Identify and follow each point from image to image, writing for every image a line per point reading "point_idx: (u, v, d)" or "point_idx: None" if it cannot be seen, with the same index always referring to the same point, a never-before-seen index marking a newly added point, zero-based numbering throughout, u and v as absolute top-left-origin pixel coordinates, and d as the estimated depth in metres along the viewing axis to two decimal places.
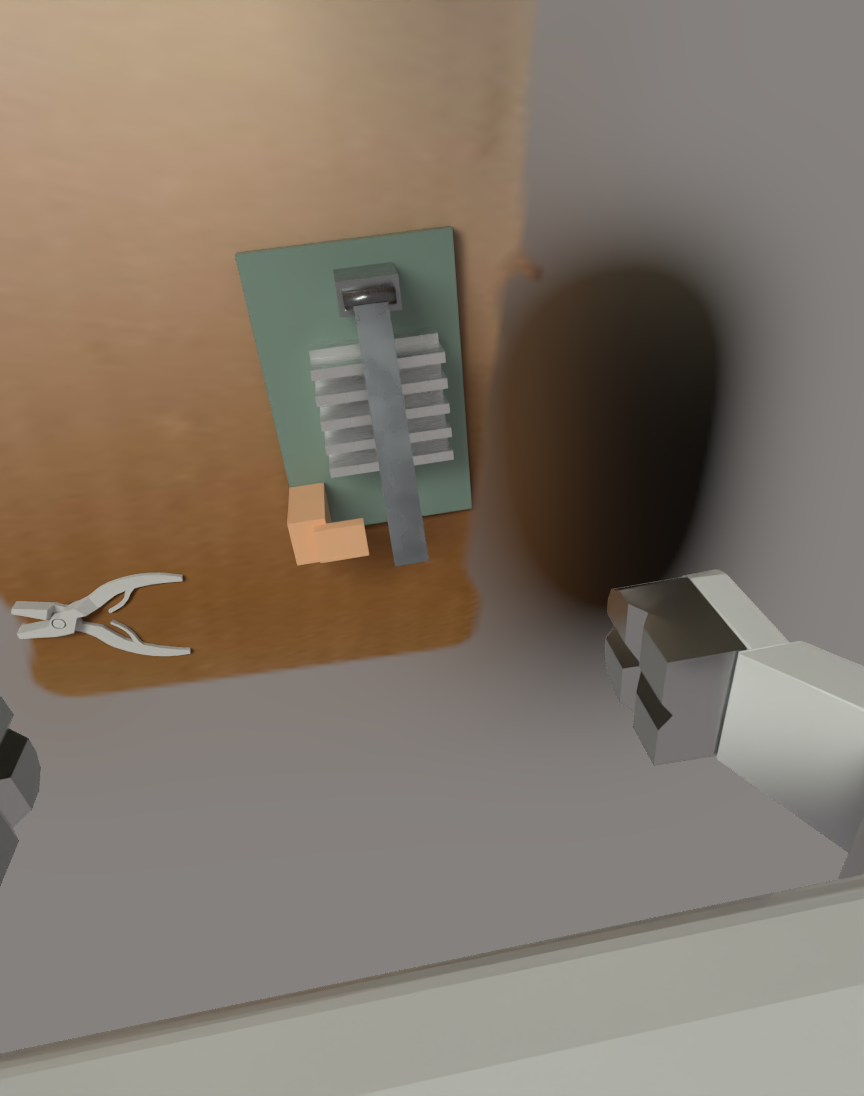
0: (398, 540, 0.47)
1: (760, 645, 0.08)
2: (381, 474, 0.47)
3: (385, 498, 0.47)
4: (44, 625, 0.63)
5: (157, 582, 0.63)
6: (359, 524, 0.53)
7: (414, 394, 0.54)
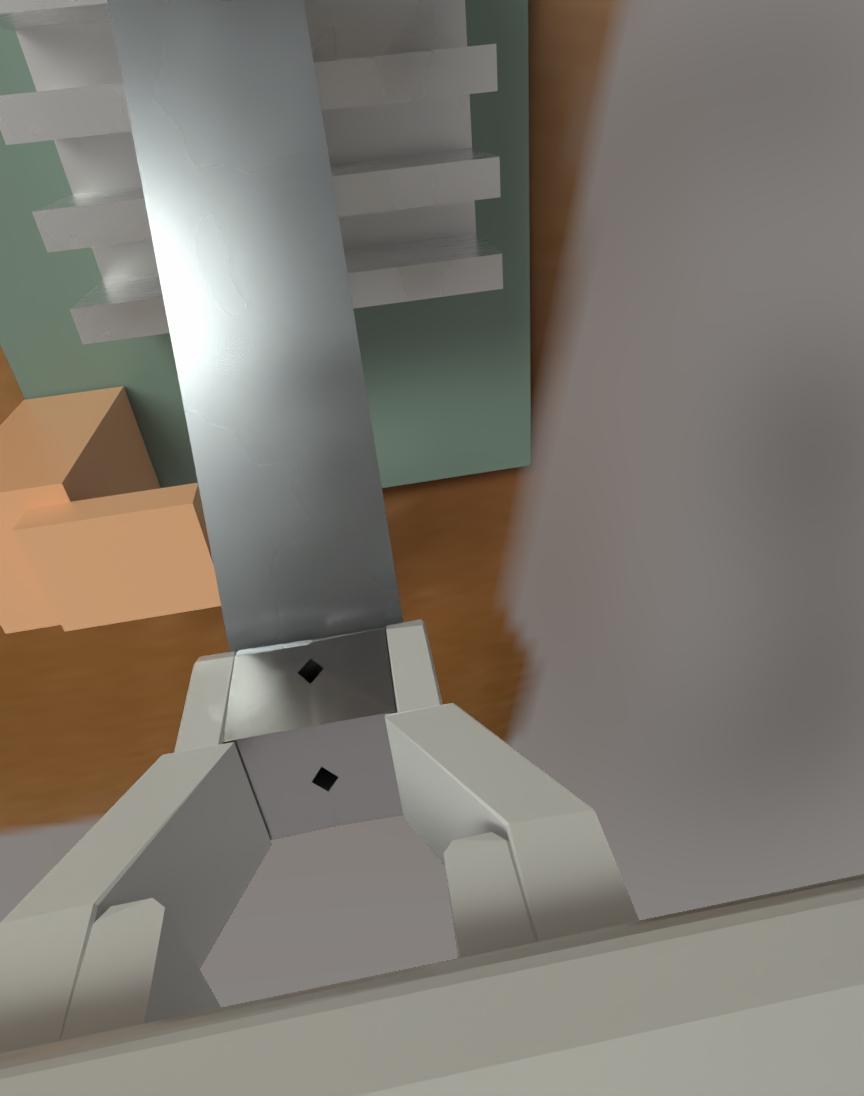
0: (257, 584, 0.09)
1: (410, 708, 0.07)
2: (158, 233, 0.09)
3: (184, 365, 0.09)
4: None
5: None
6: (179, 502, 0.15)
7: None
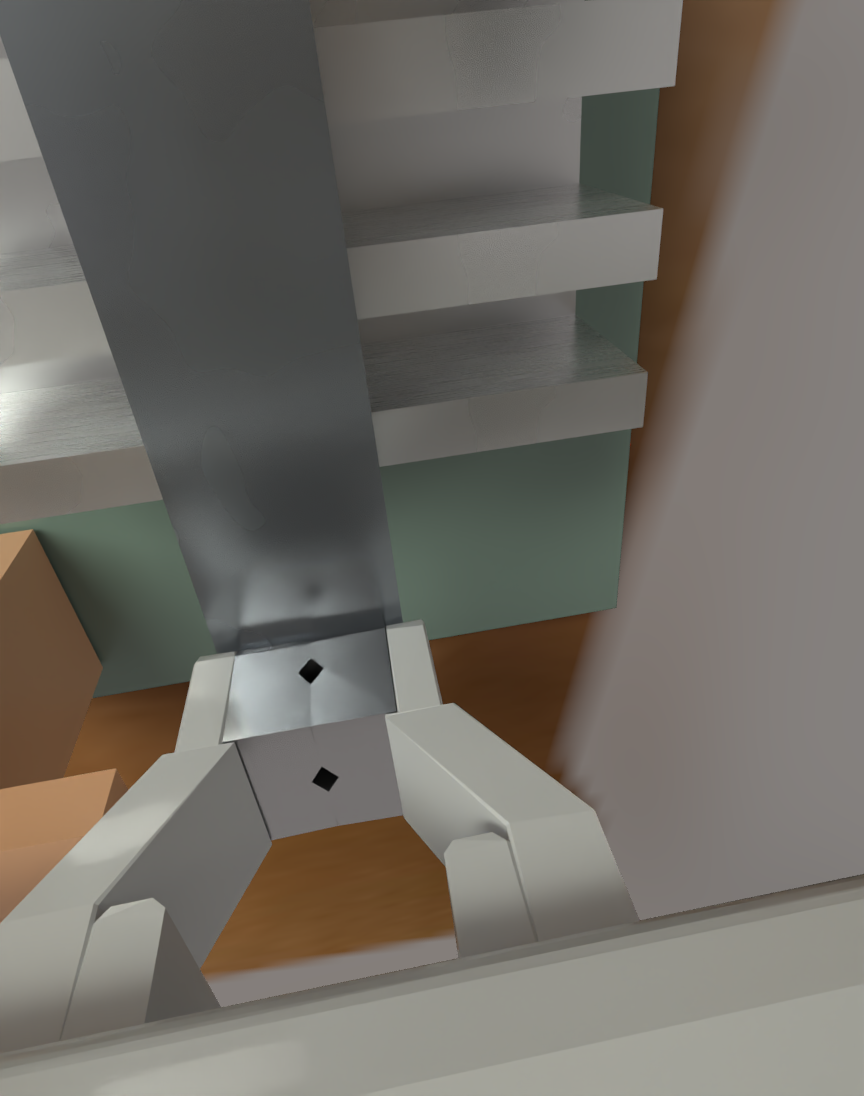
0: None
1: (410, 707, 0.07)
2: (154, 448, 0.07)
3: (200, 577, 0.08)
4: None
5: None
6: (75, 830, 0.09)
7: None
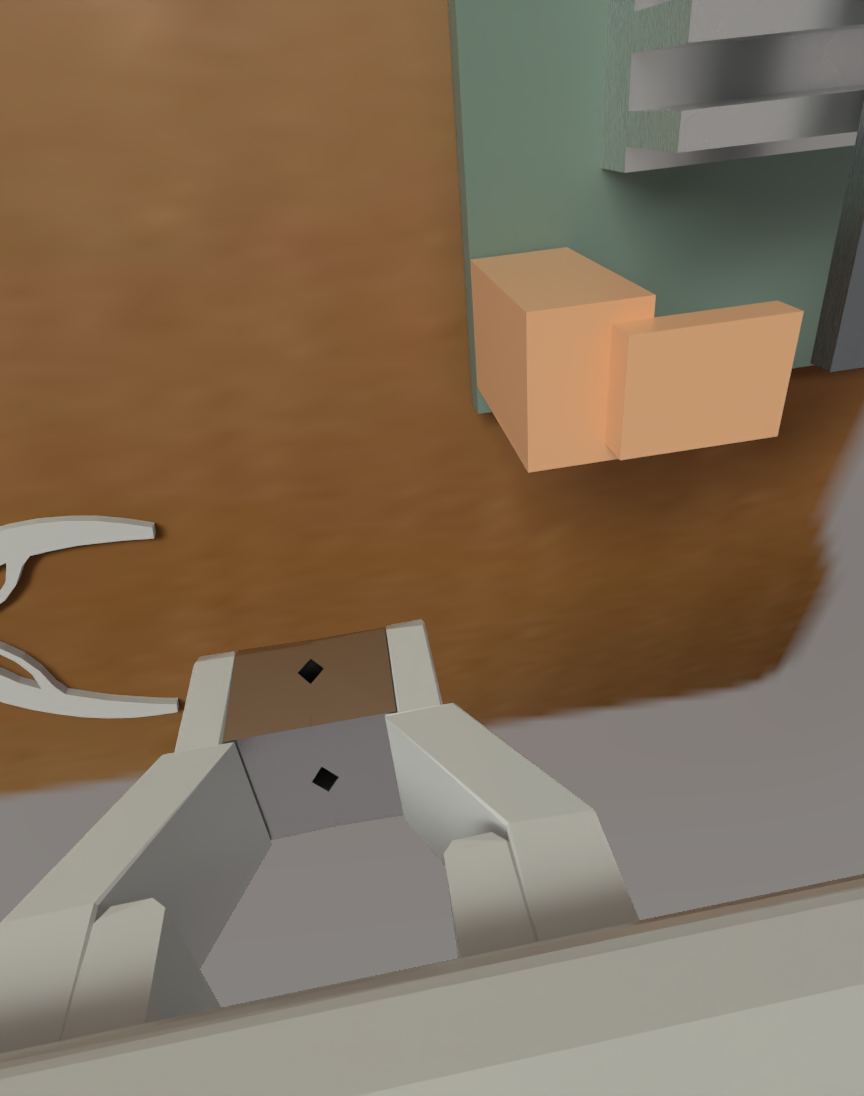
0: None
1: (410, 707, 0.07)
2: None
3: None
4: None
5: (89, 541, 0.24)
6: (788, 311, 0.15)
7: None
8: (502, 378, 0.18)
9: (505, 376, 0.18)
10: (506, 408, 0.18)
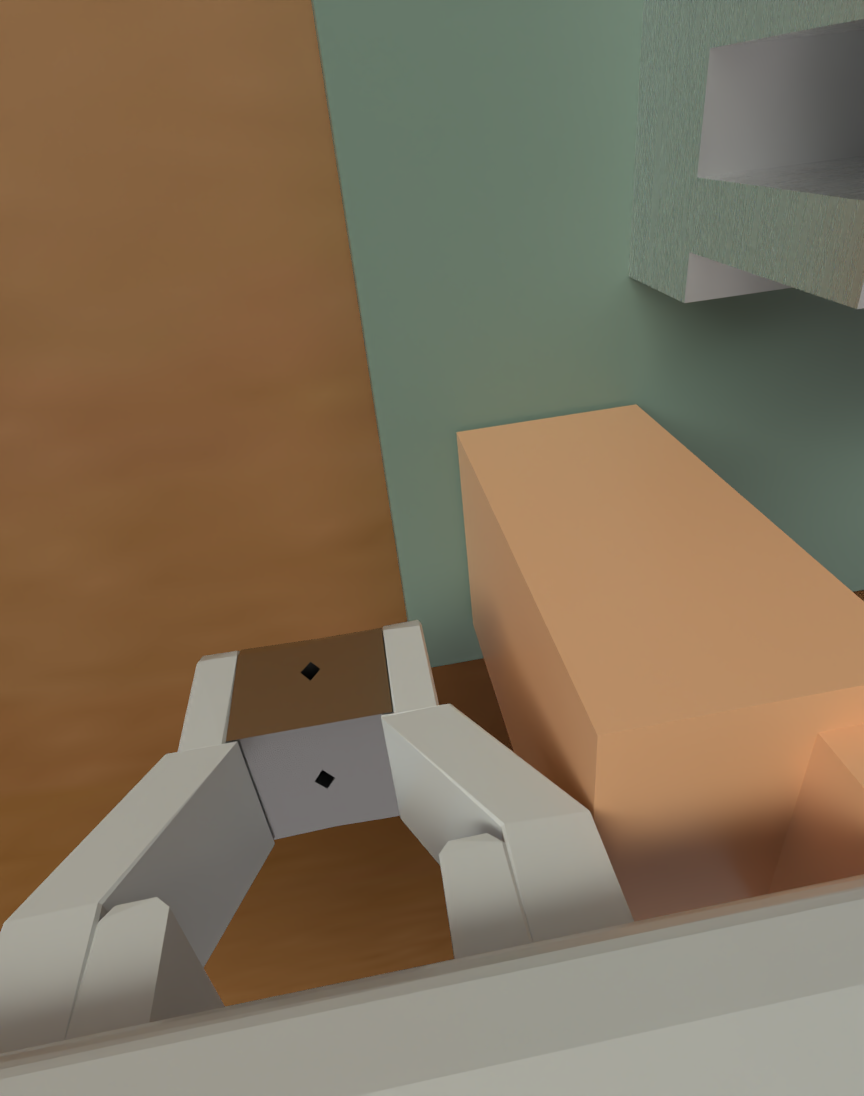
0: None
1: (407, 708, 0.07)
2: None
3: None
4: None
5: None
6: None
7: None
8: (522, 710, 0.09)
9: (529, 721, 0.09)
10: None
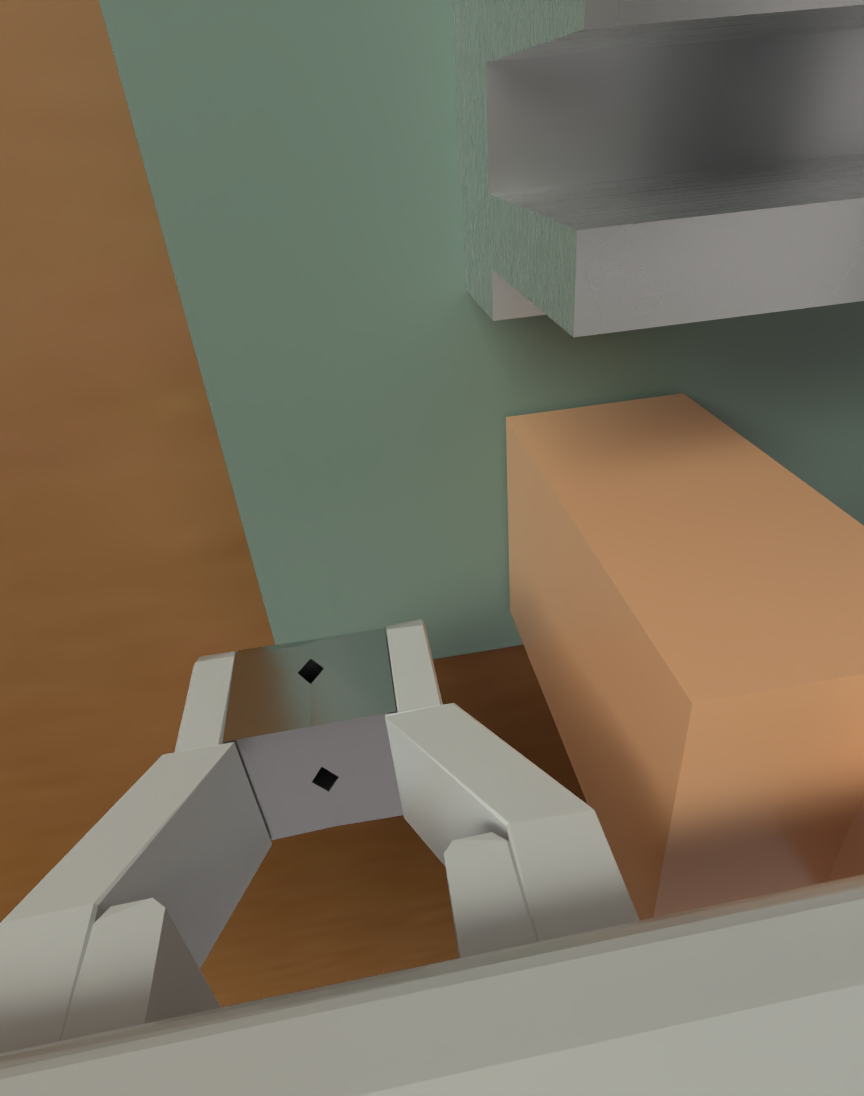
0: None
1: (410, 707, 0.07)
2: None
3: None
4: None
5: None
6: None
7: None
8: (577, 691, 0.09)
9: (587, 701, 0.09)
10: (584, 749, 0.09)
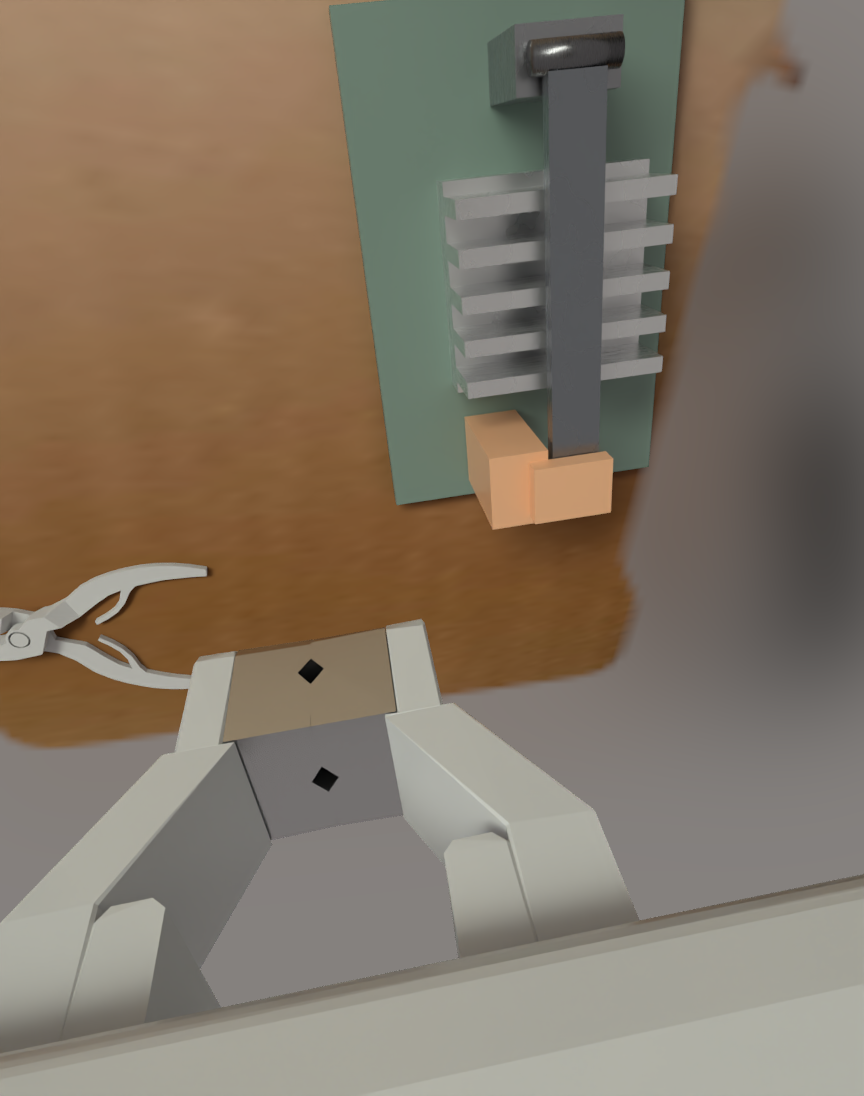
0: None
1: (410, 707, 0.07)
2: (553, 369, 0.32)
3: (553, 403, 0.32)
4: None
5: (169, 577, 0.42)
6: (606, 458, 0.33)
7: None
8: (480, 481, 0.37)
9: (481, 481, 0.36)
10: (482, 496, 0.37)
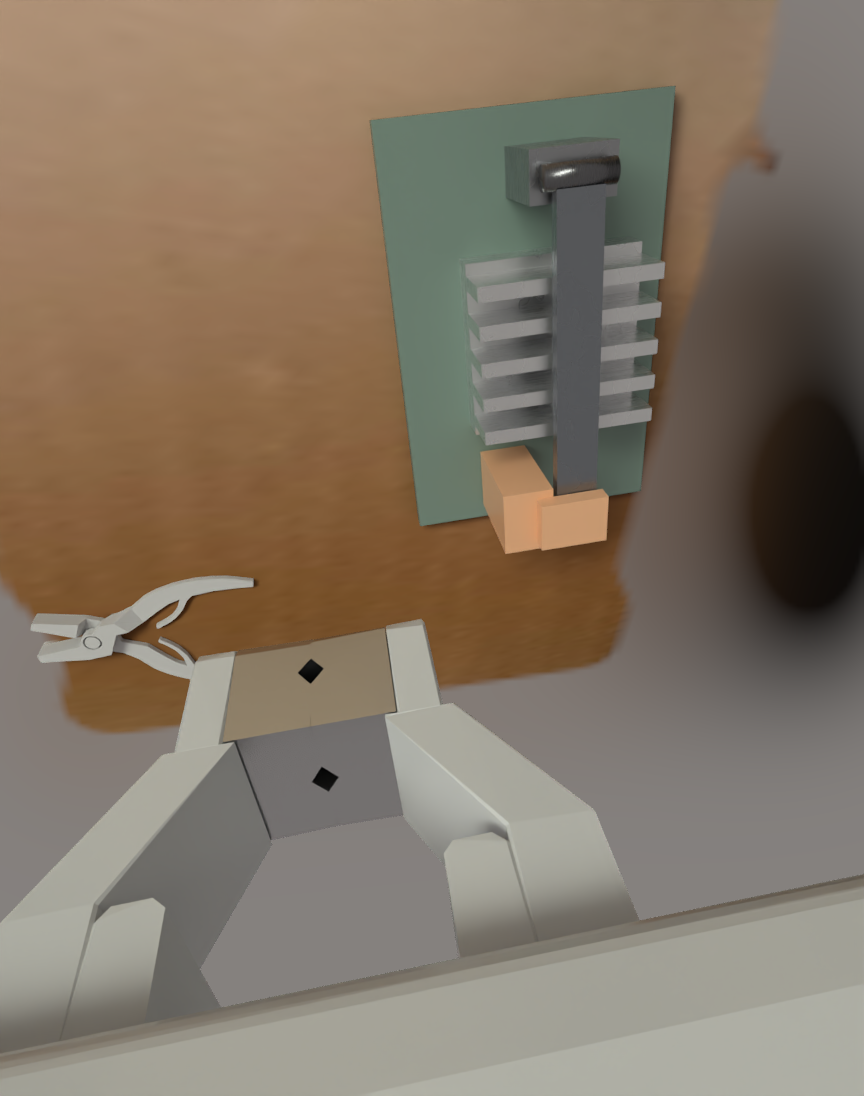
0: None
1: (410, 707, 0.07)
2: (558, 423, 0.37)
3: (558, 451, 0.38)
4: (72, 645, 0.48)
5: (221, 588, 0.48)
6: (603, 496, 0.39)
7: None
8: (494, 511, 0.43)
9: (496, 511, 0.42)
10: (496, 523, 0.43)
